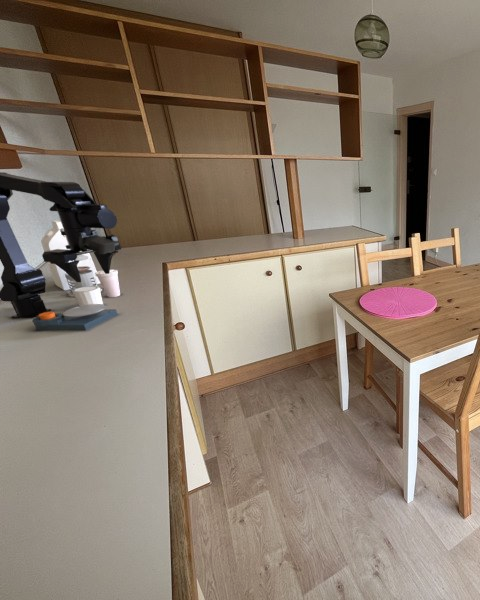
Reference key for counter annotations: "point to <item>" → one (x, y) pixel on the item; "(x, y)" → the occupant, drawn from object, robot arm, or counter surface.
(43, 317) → the tare button
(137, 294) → the counter surface
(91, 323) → the scale
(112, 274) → the smoothie
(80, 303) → the white short tapered cylinder
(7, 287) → the robot arm
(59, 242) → the milk
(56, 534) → the counter surface
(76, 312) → the weighing pan
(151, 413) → the counter surface
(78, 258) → the french press
